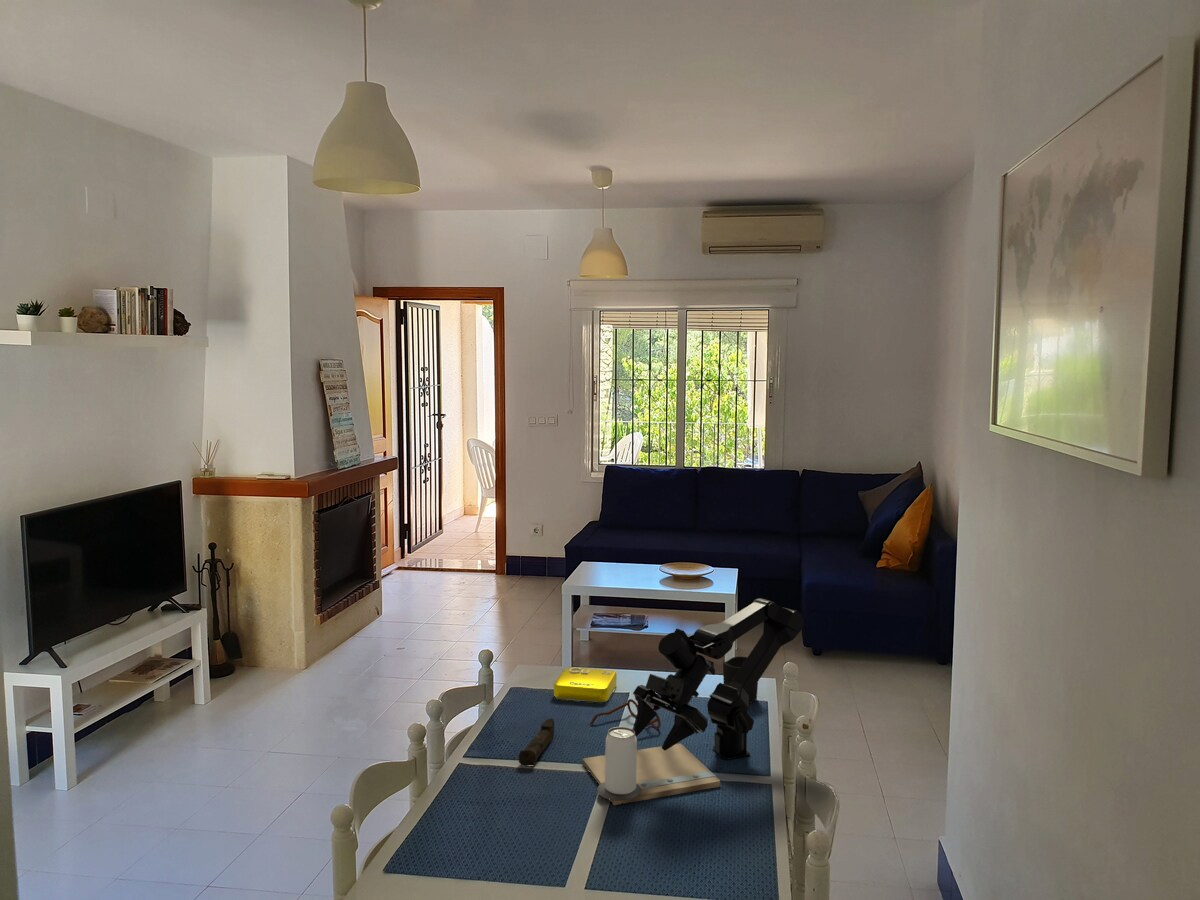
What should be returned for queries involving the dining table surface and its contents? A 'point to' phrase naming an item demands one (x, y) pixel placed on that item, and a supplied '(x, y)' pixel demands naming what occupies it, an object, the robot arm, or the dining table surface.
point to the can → (620, 761)
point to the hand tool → (537, 743)
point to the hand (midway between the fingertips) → (648, 742)
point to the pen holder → (731, 670)
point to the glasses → (630, 712)
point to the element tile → (585, 684)
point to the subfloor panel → (658, 774)
